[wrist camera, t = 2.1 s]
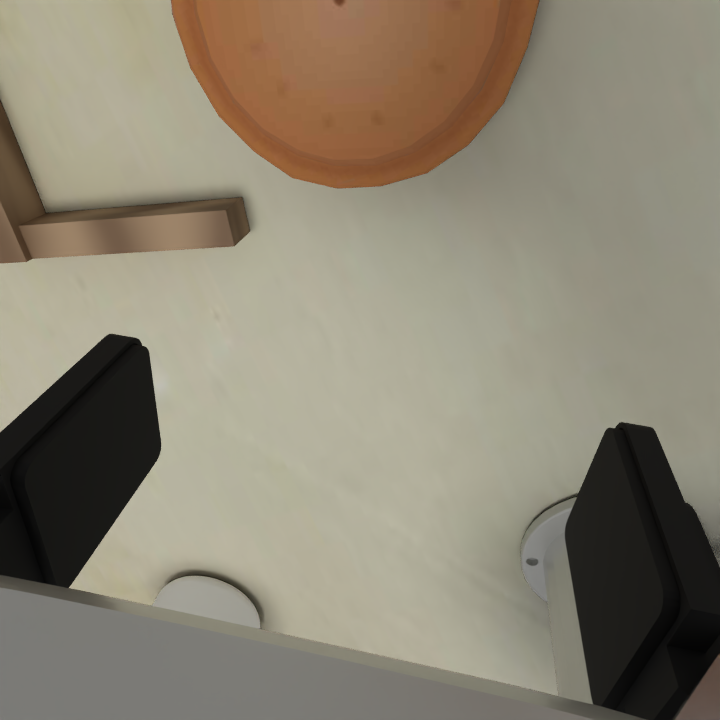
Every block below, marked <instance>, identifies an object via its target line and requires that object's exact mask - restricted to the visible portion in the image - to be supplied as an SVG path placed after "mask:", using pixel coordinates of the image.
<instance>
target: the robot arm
mask: <svg viewBox="0 0 720 720" xmlns="http://www.w3.org/2000/svg"><path fill="white" fill-rule="evenodd" d="M160 451H161V438H160V431H159V423H158V416H157V408H156V401H155V393H154V386H153V378H152V371H151V363H150V356H149V351H148V349H147V348H146V347H144V346H142V343H141V342H140V340H139V339H137V338H133V337H127V336H121V335H116V334H109V335H107V336H106V337H104V338H103V339H102V340H101V341H100V342H99V343H98V344H97V345H96V346H95V347H93V348H92V349H91V350H90V351H89V352H88V353H87V354H86V355H85V356H84V357H83V358H81V359H80V360H79V361H78V362H77V363H76V364H75V365H74V366H73V367H72V368H70V369H69V370H68V371H67V372H66V373H65V374H64V375H63V376H62V377H61V378H60V379H58V380H57V381H56V382H55V383H54V384H53V385H52V386H51V387H50V388H49V389H47V390H46V391H45V392H44V393H43V394H42V395H41V396H40V397H39V398H38V399H37V400H35V401H34V402H33V403H32V404H31V405H30V406H29V407H28V408H27V409H26V410H24V411H23V412H22V413H21V414H20V415H19V416H18V417H17V418H16V419H15V420H14V421H12V422H11V423H10V424H9V425H8V426H7V427H6V428H5V429H4V430H3V431H1V432H0V720H720V567H719V565H718V563H717V560H716V558H715V556H714V553H713V551H712V549H711V546H710V544H709V542H708V539H707V537H706V535H705V532H704V530H703V528H702V525H701V523H700V521H699V518H698V516H697V514H696V512H695V511H694V509H693V507H692V506H690V505H689V504H688V503H685V501H684V499H683V496H682V494H681V492H680V489H679V487H678V485H677V482H676V480H675V477H674V475H673V473H672V470H671V468H670V465H669V463H668V461H667V458H666V456H665V453H664V451H663V449H662V446H661V444H660V441H659V439H658V437H657V434H656V432H655V430H654V429H653V428H651V427H647V426H641V425H635V424H629V423H624V422H621V423H619V424H618V425H617V426H616V428H608V429H607V430H606V431H605V433H604V435H603V437H602V440H601V442H600V445H599V447H598V449H597V452H596V454H595V456H594V459H593V461H592V463H591V466H590V468H589V470H588V473H587V475H586V477H585V480H584V482H583V484H582V487H581V489H580V491H579V494H578V496H577V497H575V498H572V499H569V500H567V501H564V502H561V503H559V504H557V505H555V506H553V507H552V508H550V509H548V510H547V511H545V512H544V513H542V514H541V515H540V516H539V517H538V518H537V519H536V520H534V521H533V523H532V524H531V525H530V527H529V528H528V529H527V531H526V532H525V535H524V537H523V540H522V542H521V551H520V557H521V568H522V571H523V574H524V577H525V580H526V581H527V583H528V584H529V586H530V587H531V589H532V590H533V591H534V592H535V593H536V594H537V595H538V596H539V597H540V598H541V599H543V600H544V601H546V602H547V603H548V611H549V619H550V628H551V637H552V645H553V654H554V663H555V671H556V680H557V689H558V696H556V695H551V694H547V693H543V692H539V691H535V690H531V689H527V688H522V687H518V686H514V685H510V684H506V683H501V682H497V681H492V680H488V679H483V678H479V677H475V676H470V675H466V674H461V673H457V672H452V671H448V670H443V669H439V668H434V667H430V666H425V665H421V664H417V663H412V662H408V661H403V660H399V659H394V658H390V657H385V656H381V655H376V654H372V653H367V652H363V651H358V650H354V649H349V648H345V647H340V646H336V645H331V644H326V643H322V642H317V641H313V640H308V639H304V638H299V637H294V636H290V635H285V634H281V633H276V632H272V631H267V630H262V629H258V628H253V627H249V626H244V625H239V624H235V623H230V622H226V621H221V620H216V619H212V618H207V617H203V616H198V615H193V614H188V613H184V612H179V611H174V610H170V609H165V608H160V607H156V606H151V605H146V604H141V603H137V602H132V601H127V600H123V599H118V598H113V597H109V596H104V595H99V594H94V593H90V592H85V591H80V590H75V589H70V588H69V587H70V585H71V584H72V583H73V581H74V580H75V578H76V577H77V576H78V574H79V573H80V571H81V570H82V568H83V567H84V565H85V564H86V562H87V561H88V560H89V558H90V557H91V555H92V554H93V552H94V551H95V549H96V548H97V547H98V545H99V544H100V542H101V541H102V539H103V538H104V536H105V535H106V533H107V532H108V531H109V529H110V528H111V526H112V525H113V523H114V522H115V520H116V519H117V518H118V516H119V515H120V513H121V512H122V510H123V509H124V507H125V506H126V504H127V503H128V502H129V500H130V499H131V497H132V496H133V494H134V493H135V491H136V490H137V489H138V487H139V486H140V484H141V483H142V481H143V480H144V478H145V477H146V475H147V474H148V473H149V471H150V470H151V468H152V467H153V465H154V464H155V462H156V461H157V459H158V457H159V454H160Z"/></svg>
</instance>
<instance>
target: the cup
mask: <svg viewBox="0 0 720 720" xmlns="http://www.w3.org/2000/svg"><path fill="white" fill-rule="evenodd" d="M152 606H156V607H160V608H165V609H170V610H174V611H179V612H184V613H188V614H193V615H198V616H203V617H207V618H212V619H216V620H221V621H226V622H230V623H235V624H239V625H244V626H249V627H253V628H258V629H260V619H259V615H258V612H257V610H256V608H255V606H254V605H253V603H252V602H251V601H250V600H249V599H248V597H247V596H246V595H244V594H243V593H242V592H241V591H240V590H238V589H237V588H235V587H233V586H232V585H230V584H228V583H226V582H223V581H221V580H218V579H215V578H211V577H206V576H185V577H181V578H178V579H175V580H173V581H171V582H170V583H168V584H167V585H166V586H165V587H163V589H162V590H161V591H160V592H159V594H158V596H157V597H156V599H155V601H154V603H153V605H152Z"/></svg>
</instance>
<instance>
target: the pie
mask: <svg viewBox="0 0 720 720" xmlns="http://www.w3.org/2000/svg"><path fill="white" fill-rule="evenodd" d="M171 4H172V15H173V18H174V21H175V24H176V27H177V30H178V33H179V35H180V38H181V41H182V44H183V47H184V50H185V53H186V56H187V59H188V62H189V65H190V68H191V70H192V71H193V73H194V75H195V76H196V78H197V80H198V82H199V83H200V85H201V87H202V88H203V90H204V92H205V93H206V95H207V97H208V99H209V100H210V102H211V104H212V105H213V107H214V109H215V110H216V112H217V114H218V116H219V117H220V118H221V119H222V120H223V121H224V122H225V123H226V124H227V125H228V126H229V127H230V128H231V129H232V130H233V131H234V132H235V133H236V134H237V135H238V136H239V137H240V138H241V139H242V140H243V141H244V142H245V143H246V144H247V145H248V146H249V147H250V148H251V149H252V150H253V151H254V152H256V153H257V154H259V155H260V156H261V157H263V158H264V159H266V160H267V161H269V162H270V163H272V164H273V165H274V166H276V167H277V168H279V169H280V170H282V171H283V172H285V173H286V174H287V175H289V176H290V177H292V178H295V179H299V180H304V181H308V182H312V183H316V184H321V185H325V186H329V187H333V188H356V187H375V186H383V185H387V184H390V183H394V182H397V181H401V180H404V179H408V178H412V177H415V176H419V175H422V174H426V173H428V172H429V171H431V170H432V169H434V168H435V167H437V166H438V165H440V164H441V163H443V162H444V161H446V160H447V159H448V158H450V157H451V156H453V155H454V154H456V153H457V152H459V151H460V150H462V149H463V148H465V147H466V146H468V145H469V143H470V142H471V141H472V140H473V139H474V138H475V136H476V135H477V134H478V133H479V132H480V131H481V129H482V128H483V127H484V126H485V125H486V123H487V122H488V121H489V120H490V119H491V118H492V116H493V115H494V114H495V113H496V112H497V111H498V109H499V108H500V107H501V106H502V105H503V103H504V102H505V99H506V97H507V95H508V92H509V90H510V87H511V85H512V83H513V80H514V78H515V75H516V73H517V71H518V68H519V66H520V64H521V61H522V59H523V56H524V54H525V52H526V49H527V47H528V43H529V39H530V35H531V31H532V27H533V23H534V20H535V16H536V12H537V8H538V4H539V0H171Z"/></svg>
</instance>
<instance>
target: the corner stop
mask: <svg viewBox="0 0 720 720" xmlns="http://www.w3.org/2000/svg"><path fill="white" fill-rule="evenodd" d="M249 232H250V230H249V225H248V221H247V216H246V212H245V207H244V203H243V199H242V197H240V198H227V199H215V200H203V201H190V202H178V203H166V204H153V205H141V206H129V207H116V208H104V209H92V210H79V211H67V212H55V213H46V212H45V210H44V207H43V205H42V203H41V200H40V198H39V195H38V193H37V190H36V188H35V185H34V183H33V180H32V178H31V175H30V173H29V170H28V168H27V165H26V163H25V160H24V158H23V155H22V153H21V151H20V148H19V146H18V143H17V141H16V138H15V136H14V133H13V131H12V128H11V126H10V123H9V121H8V118H7V116H6V113H5V111H4V108H3V106H2V103H1V101H0V263H14V262H27V261H29V260H31V259H35V258H51V257H68V256H84V255H100V254H116V253H133V252H149V251H165V250H182V249H198V248H214V247H230V246H235V245H236V244H237V243H238V242H239V241H240V240H242V239H243V238H244V237H245V236H246V235H247V234H248V233H249Z"/></svg>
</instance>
